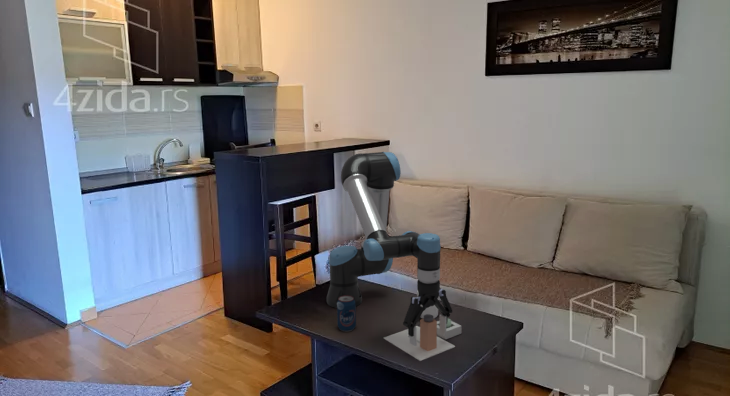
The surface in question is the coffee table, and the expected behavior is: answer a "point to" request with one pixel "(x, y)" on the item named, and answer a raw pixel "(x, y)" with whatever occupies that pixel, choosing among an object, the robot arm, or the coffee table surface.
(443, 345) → the paper
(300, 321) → the coffee table surface
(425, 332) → the block with dark dome
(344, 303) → the soda can
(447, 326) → the button
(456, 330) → the button housing
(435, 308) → the mug
